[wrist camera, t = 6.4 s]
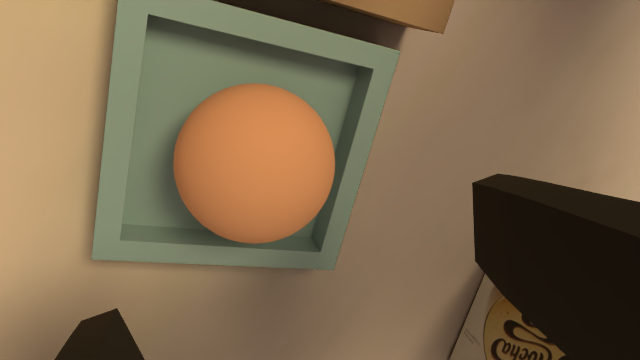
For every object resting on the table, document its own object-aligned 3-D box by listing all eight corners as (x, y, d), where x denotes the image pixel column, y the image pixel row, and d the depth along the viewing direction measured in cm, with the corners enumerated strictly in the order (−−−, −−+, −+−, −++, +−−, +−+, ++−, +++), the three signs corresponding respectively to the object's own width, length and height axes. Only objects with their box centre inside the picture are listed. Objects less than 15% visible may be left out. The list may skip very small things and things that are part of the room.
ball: (291, 55, 16) (348, 82, 12) (316, 179, 18) (371, 241, 14) (147, 91, 15) (151, 137, 10) (193, 219, 17) (211, 300, 13)
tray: (378, 44, 17) (400, 50, 16) (319, 247, 20) (333, 270, 19) (124, -24, 14) (120, -24, 12) (97, 233, 17) (91, 259, 15)
